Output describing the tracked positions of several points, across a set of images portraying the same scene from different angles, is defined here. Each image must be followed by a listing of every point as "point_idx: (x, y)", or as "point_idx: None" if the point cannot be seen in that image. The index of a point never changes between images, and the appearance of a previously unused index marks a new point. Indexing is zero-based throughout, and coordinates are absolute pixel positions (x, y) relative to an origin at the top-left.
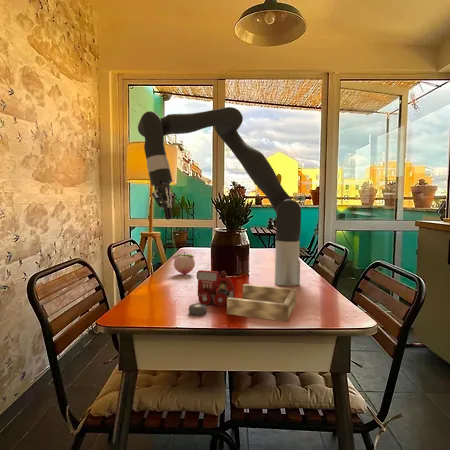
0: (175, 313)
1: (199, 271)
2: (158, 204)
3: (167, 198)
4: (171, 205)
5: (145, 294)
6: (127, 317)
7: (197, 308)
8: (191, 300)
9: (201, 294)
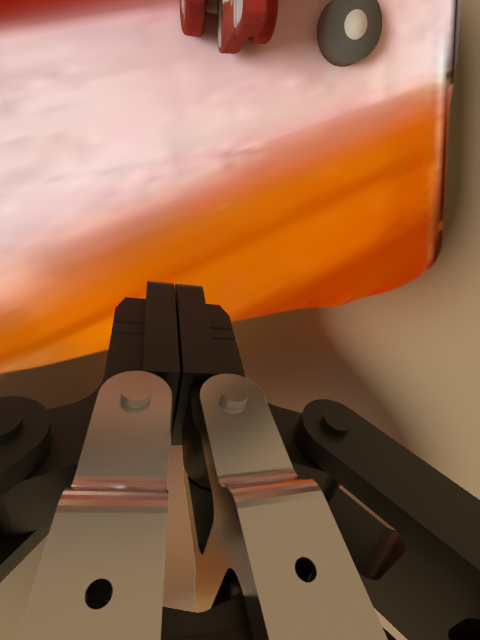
0: (351, 113)
1: (266, 5)
2: (350, 505)
3: (328, 519)
4: (127, 397)
5: None
6: (385, 238)
7: (375, 21)
8: (216, 92)
9: (275, 20)
